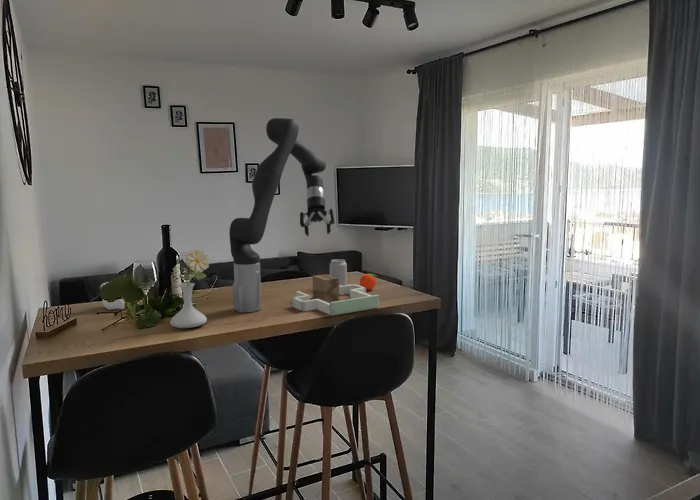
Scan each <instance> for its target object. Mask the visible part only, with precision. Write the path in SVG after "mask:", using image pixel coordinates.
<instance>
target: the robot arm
mask: <svg viewBox="0 0 700 500" xmlns="http://www.w3.org/2000/svg"><path fill="white" fill-rule="evenodd" d="M299 128H300V127H299V123H298V122H297V120H296V119H292V118H287V117H286V118H284V117H283V118H281V117H273V118H270V119H269V120H268V122H267V124H266V127H265V131H266V136H267V138H268V139H269V140H270V141H271V142H273V143H274V144H276V145H277V147H275V149H274V151H272V152H271V153H270V154H269V155H268V156H267V157H266V158H265V159H264V160H263V161H261V162H260V164H259V165H258V166H257V168H256V170H255V174H254V176H253V179H252V183H251V188H252V189H251V190H252V195H253V199H254V204H253V208H252V211H251V214H250V217H236V218H234V219H233V220H232V221H231V222H230V226H229V234H228V235H229V245H230V254H231V257H232V259H233V276H234V277H233V279H234V282H233V283H232V300H233V301H232V303H233V304H232V305H233V310H234V311H235V312H237V313H254V312H259V311H261V310H262V291H261V290H262V287H261V284H262V283H261V282H262V281H261V258H260V254H258V253H257V252H256V251H255V250H254V249H253V248H252V247H251V245H257V244H258V243H260V242H261V241H262V239H263V237H264V234H265V231H266V228H267V221H268V219H269V214H270V211H271V207H272V204H273V201H274V197H275V195H276V192H277V190H278V187H279V184H280V182H281V178H282V175H283V172H284V170H285V166H286V164H287V161H288V159H289V157H290V155H291V156H293V157H294V159H296V161H297V162H299V164H300V165H301V169H302V172H303V175H304V178H305V181H306V205H307V206H306V207H307V211H306V212H303V211H301V212H300V214H299V225H300V227H301V228H304V234H305V235H306V237H309V236H310V232H309V226H311V224H312V223H317V222H319V223H320V222H323V223H324V224H326V234H327V235H330V233H331V226H332V225H335V217H334V210H333V208H330V209H329V210H327V209H326V201H325V199H326V197H325V191H324V181H323V178H322V176H320V175H317V174H319V173H323V172H324V171H325V170H326V167H327V163H326V161H325V158H324V157H323V156H322V155H320V154H319V153H316V152H314V151H312V150H311V149H310V147H309V146H308V145H307V144H305V143H304V142H302V141H301V140H298V139H297V138H298V137H299ZM315 174H316V175H315ZM327 215H328V216H329V217H330V220H329V219H328V218H327V217H326V216H327ZM306 217H308V218H307V219H306ZM304 219H306V221H305V220H304Z"/></svg>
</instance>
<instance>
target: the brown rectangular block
mask: <svg viewBox="0 0 700 500" xmlns="http://www.w3.org/2000/svg"><path fill="white" fill-rule="evenodd" d="M312 299H320V300H322V301H325V302H327V303H329V302H335V301H340V294H339V278H336V277H333V276H330V274H317V275H312Z"/></svg>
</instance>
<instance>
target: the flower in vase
mask: <svg viewBox="0 0 700 500" xmlns="http://www.w3.org/2000/svg"><path fill="white" fill-rule="evenodd" d="M185 256H186V257H185V265H186V266H187V267H188V268H189V270H190V271H192V275H191V276H190V278H189V277H188V276H185V275H181V274H180V273H178V277H179V278H180V279H184V280H187V281H188V282H182V283H179V284H178V286H179V289H180V290H181V292H182V296H183V306H182V308H181V309H179V311H178V312H177V313H176V314H175V315H173V316H172V318H171V319H170V322H169V323H170V325H171V326H172V327H174V328H178V329H190V328H191V329H193V328H197V327H200V326H202V325H204V324H205V323H207V322H208V318H207V316H206V315H205V314H204V313H202V312H200V311H199V310H198V309H196V308H195V307H194V306H193V304H192V292H193V289H194V286H195V282H191V280H192V279H193V277H194V278H196V279H197V280H202V279H205V278H207V274H205V273H204V270H205V271H206V270H207V269H208V268H209V267H210V266H209V265H210V264H211V263H210V258H209V256H208V255H207V253H205V251H203V250H201V249H196V248H194V249H192V250H190V251H189V252H187V253H186V255H185Z"/></svg>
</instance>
